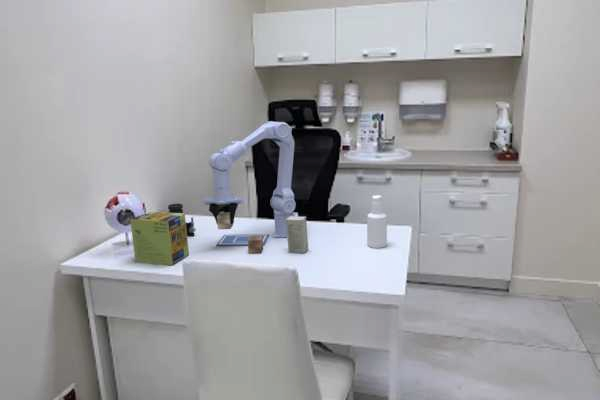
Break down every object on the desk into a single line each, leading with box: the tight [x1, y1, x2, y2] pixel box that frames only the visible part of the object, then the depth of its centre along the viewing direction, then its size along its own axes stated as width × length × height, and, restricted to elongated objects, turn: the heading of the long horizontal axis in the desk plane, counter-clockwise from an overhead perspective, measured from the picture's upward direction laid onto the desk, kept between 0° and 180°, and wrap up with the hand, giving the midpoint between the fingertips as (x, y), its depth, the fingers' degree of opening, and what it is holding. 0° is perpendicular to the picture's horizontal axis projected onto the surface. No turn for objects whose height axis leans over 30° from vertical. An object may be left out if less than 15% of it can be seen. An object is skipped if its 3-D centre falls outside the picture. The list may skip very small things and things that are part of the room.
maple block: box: [216, 211, 234, 230], centre depth 168 cm, size 4×4×5 cm
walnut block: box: [247, 236, 264, 255], centre depth 165 cm, size 4×4×5 cm
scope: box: [167, 203, 197, 238], centre depth 182 cm, size 8×14×10 cm
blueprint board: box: [216, 233, 270, 247], centre depth 178 cm, size 18×12×1 cm, turn 85°
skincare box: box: [286, 216, 309, 254], centre depth 163 cm, size 6×4×12 cm
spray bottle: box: [366, 195, 388, 249], centre depth 165 cm, size 7×7×18 cm
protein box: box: [129, 211, 190, 266], centre depth 161 cm, size 10×15×16 cm
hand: (225, 223), depth 169 cm, fingers closed on maple block, 4 cm apart
